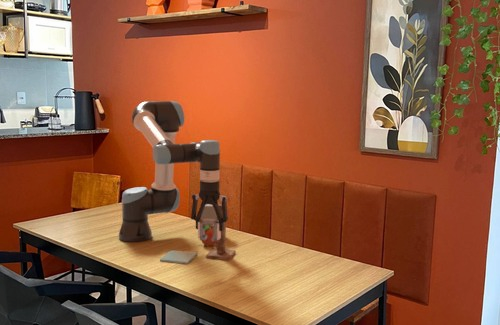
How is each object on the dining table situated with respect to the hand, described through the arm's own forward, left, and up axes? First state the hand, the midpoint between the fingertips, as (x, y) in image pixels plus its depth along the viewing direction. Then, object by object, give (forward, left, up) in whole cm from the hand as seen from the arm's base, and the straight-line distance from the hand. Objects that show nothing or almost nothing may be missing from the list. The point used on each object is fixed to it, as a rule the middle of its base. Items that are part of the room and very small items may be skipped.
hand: (209, 237), depth 198 cm
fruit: (-9, +29, -13) cm, 33 cm away
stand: (0, +13, -13) cm, 18 cm away
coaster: (-16, +9, -13) cm, 22 cm away
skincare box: (-13, +43, -13) cm, 47 cm away
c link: (0, 0, -1) cm, 1 cm away
